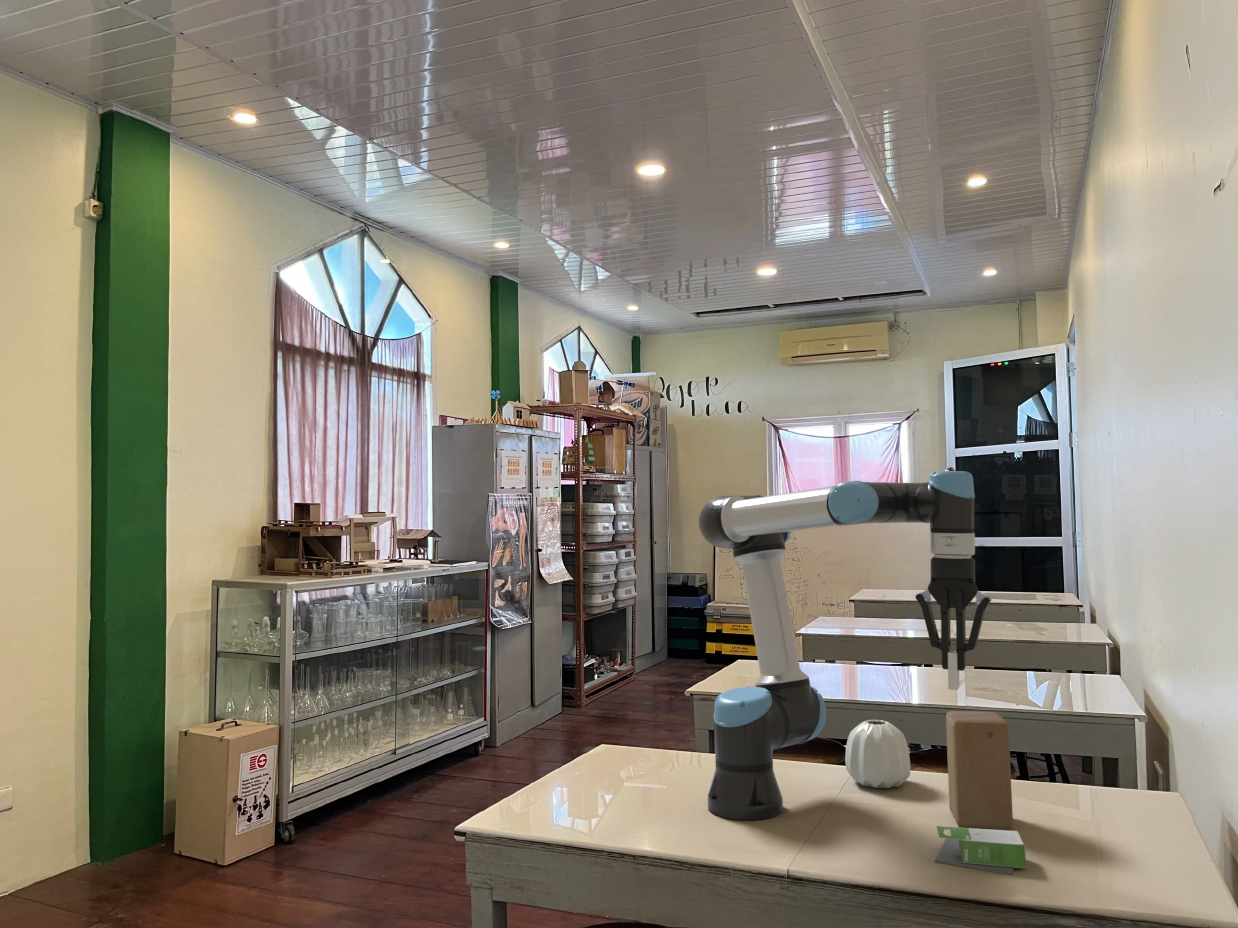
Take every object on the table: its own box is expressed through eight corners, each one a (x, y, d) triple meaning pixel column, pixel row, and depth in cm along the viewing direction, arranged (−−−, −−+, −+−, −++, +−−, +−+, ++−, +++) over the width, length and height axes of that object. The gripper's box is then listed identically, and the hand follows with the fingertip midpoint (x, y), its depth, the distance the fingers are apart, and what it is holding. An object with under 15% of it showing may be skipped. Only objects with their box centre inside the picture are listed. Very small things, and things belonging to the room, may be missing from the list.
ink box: (1020, 854, 152) (937, 847, 156) (1018, 830, 153) (936, 824, 157) (1026, 869, 146) (939, 861, 150) (1025, 844, 146) (938, 837, 150)
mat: (934, 861, 151) (934, 859, 151) (947, 839, 161) (946, 837, 161) (1011, 874, 145) (1011, 872, 145) (1019, 850, 155) (1019, 848, 155)
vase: (843, 774, 203) (841, 714, 204) (905, 775, 201) (903, 715, 202) (850, 792, 190) (848, 728, 191) (917, 794, 188) (915, 729, 189)
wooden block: (1014, 831, 165) (1009, 722, 166) (957, 828, 167) (953, 720, 168) (1002, 814, 174) (998, 710, 176) (948, 811, 176) (944, 709, 178)
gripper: (911, 556, 160) (912, 688, 159) (988, 558, 154) (990, 696, 153) (919, 554, 167) (920, 680, 166) (994, 556, 160) (995, 688, 159)
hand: (953, 688), depth 159 cm, fingers closed
